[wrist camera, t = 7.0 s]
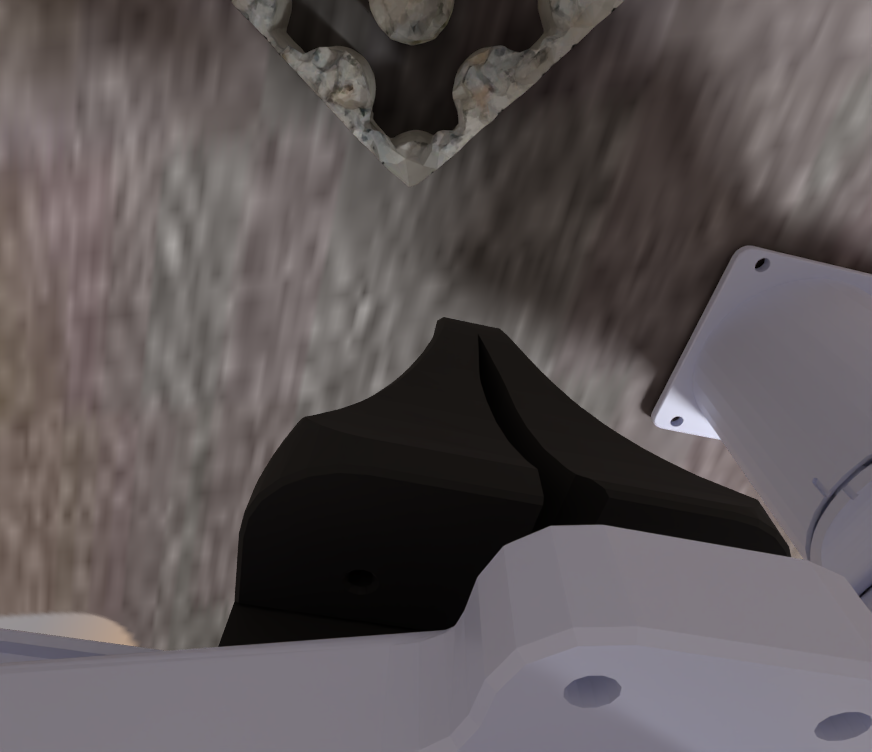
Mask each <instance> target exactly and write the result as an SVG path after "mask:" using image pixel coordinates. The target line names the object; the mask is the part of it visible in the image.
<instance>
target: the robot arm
mask: <svg viewBox="0 0 872 752" xmlns="http://www.w3.org/2000/svg"><path fill="white" fill-rule="evenodd" d="M762 258H765V261H764V264H763V265H762V266H761V267H759V268H755V264H756V263H757V261H758V260H760V259H762ZM677 416H680V417H679V418H678V419H677V420H675V421H671V420H672V419H673V418H674V417H677ZM651 419H652V421H653V423H654V424H655V425H656V427H659V428H662V429H667V430H673V431H678V432H683V433H688V434H693V435H698V436H703V437H708V438H714V439H719V440H721V441H722V442H723V444H724V445H725V446H726V448H727V449H728V451H729V452H730V454H731V455H732V457H733V458H734V459H735V461H736V462H737V464H738V465H739V467H740V468H741V470H742V471H743V472H744V474H745V475H746V477H747V478H748V480H749V481H750V482H751V484H752V485H753V487H754V488H755V490H756V491H757V493H758V494H759V495H760V497H761V498H762V500H763V501H764V503H765V504H766V506H767V507H768V508H769V510H770V511H771V513H772V514H773V516H774V517H775V519H776V520H777V521H778V523H779V524H780V526H781V527H782V529H783V530H784V531H785V533H786V534H787V536H788V537H789V539H790V540H791V542H792V543H793V544H794V546H795V547H796V549H797V550H798V552H799V553H800V555H801V556H802V557H803V559H804V560H803V559H797V558H792V557H791V554H790V549H789V546H788V545H787V543H786V542H785V540H784V539H783V537H782V536H781V534H780V533H779V531H778V530H777V528H776V527H775V525H774V524H773V522H772V521H771V519H770V518H769V516H768V514H767V513H766V511H765V510H764V508H763V507H762V505H761V504H760V502H759V501H758V500H756V499H754V498H751V497H749V496H746V495H744V494H741V493H739V492H736V491H734V490H732V489H729V488H727V487H724V486H722V485H719V484H717V483H714V482H712V481H709V480H707V479H704V478H702V477H699V476H697V475H695V474H693V473H691V472H689V471H686V470H684V469H682V468H680V467H678V466H676V465H674V464H672V463H670V462H668V461H666V460H664V459H662V458H660V457H658V456H656V455H654V454H653V453H651V452H649V451H647V450H645V449H643V448H642V447H640V446H638V445H637V444H635V443H633V442H632V441H630V440H628V439H627V438H625V437H623V436H622V435H620V434H618V433H617V432H615V431H614V430H612V429H611V428H609V427H608V426H606V425H605V424H603V423H602V422H600V421H599V420H598V419H596V418H595V417H594V416H592V415H591V414H590V413H588V412H587V411H586V410H584V409H583V408H581V407H580V406H579V405H578V404H576V403H575V402H574V401H573V400H572V399H570V398H569V397H568V396H567V395H566V394H565V393H564V392H563V391H561V390H560V389H559V388H558V387H557V386H556V385H555V384H554V383H553V382H551V381H550V380H549V379H548V378H547V377H546V376H545V375H544V374H543V373H542V372H541V371H540V370H539V369H538V368H537V367H536V366H535V365H534V364H533V362H532V361H531V360H530V359H529V358H528V357H527V356H526V355H525V354H524V353H523V352H522V351H521V350H520V349H519V348H518V346H517V345H516V344H515V343H514V342H513V341H512V340H511V339H510V338H509V337H508V336H507V335H506V334H505V333H504V332H503V331H502V330H500V329H498V328H493V327H488V326H484V325H479V324H474V323H469V322H464V321H460V320H455V319H450V318H445V317H443V318H441V319H440V320H438V321H437V324H436V328H435V332H434V336H433V338H432V340H431V341H430V343H429V344H428V346H427V347H426V349H425V350H424V352H423V353H422V354H421V355H420V356H419V357H418V359H417V360H416V361H415V362H414V363H413V364H412V365H411V366H410V367H409V368H408V369H407V370H406V371H405V372H404V373H403V374H402V375H401V376H400V377H399V378H397V379H396V380H395V381H394V382H392V383H391V384H390V385H388V386H387V387H385V388H384V389H382V390H381V391H379V392H378V393H376V394H375V395H373V396H371V397H369V398H368V399H365V400H363V401H361V402H358V403H356V404H353V405H350V406H348V407H345V408H342V409H338V410H334V411H330V412H325V413H321V414H317V415H313V416H307V417H304V418H302V419H301V420H300V421H299V422H298V423H297V425H296V426H295V427H294V428H293V429H292V431H291V432H290V433H289V434H288V436H287V437H286V438H285V440H284V441H283V442H282V444H281V445H280V446H279V448H278V449H277V451H276V452H275V453H274V455H273V456H272V458H271V460H270V461H269V463H268V464H267V466H266V468H265V469H264V471H263V473H262V474H261V476H260V478H259V480H258V482H257V484H256V486H255V488H254V490H253V493H252V495H251V498H250V500H249V503H248V505H247V508H246V510H245V513H244V516H243V520H242V524H241V528H240V531H239V542H238V557H237V572H236V587H235V602H234V605H233V608H232V610H231V613H230V616H229V619H228V622H227V624H226V627H225V630H224V633H223V635H222V638H221V641H220V644H219V646H218V647H211V648H198V649H184V650H171V651H165V650H157V649H150V648H143V647H135V646H128V645H120V644H113V643H106V642H98V641H91V640H83V639H76V638H69V637H61V636H53V635H47V634H38V633H31V632H25V631H17V630H10V629H2V628H0V752H872V274H869V273H865V272H861V271H857V270H852V269H848V268H844V267H840V266H836V265H831V264H827V263H823V262H819V261H815V260H810V259H806V258H802V257H798V256H794V255H789V254H785V253H781V252H777V251H772V250H768V249H764V248H760V247H756V246H744V247H741V248H740V249H738V250H737V251H736V252H735V253H734V254H733V256H732V258H731V260H730V262H729V264H728V266H727V267H726V269H725V271H724V273H723V275H722V277H721V279H720V281H719V283H718V285H717V287H716V289H715V291H714V293H713V295H712V297H711V299H710V301H709V302H708V304H707V306H706V308H705V310H704V312H703V314H702V316H701V318H700V320H699V322H698V324H697V326H696V328H695V330H694V332H693V334H692V336H691V337H690V339H689V341H688V343H687V345H686V347H685V349H684V351H683V353H682V355H681V357H680V359H679V361H678V363H677V365H676V367H675V369H674V371H673V372H672V374H671V376H670V378H669V380H668V382H667V384H666V386H665V388H664V390H663V392H662V394H661V396H660V398H659V400H658V402H657V404H656V406H655V407H654V409H653V411H652V414H651Z"/></svg>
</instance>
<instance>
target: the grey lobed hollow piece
mask: <svg viewBox="0 0 872 752" xmlns="http://www.w3.org/2000/svg"><path fill="white" fill-rule="evenodd" d="M454 1H455V0H369V5H370V10H371V12H372V14H373V16H374V19H375V20H376V22H377V24H378V25H379V27H380V28H381V29H382V30H383V31H384V32H385V33H386V34H387V36H388V37H389V38H390V39H392V40H395V41H398V42H401V43H406V44H409V45H412V46H413V45H417V44H421V43H425V42H428V41H430V40H433V39H435V38H436V37H437V36H438V35H439V33H440V32H441V31H442V30H443V29H444V28H445V26H446V25H447V23H448V21H449V19H450V16H451V14H452V11H453V7H454ZM623 1H624V0H538V12H539V15H540V19H541V22H542V26H543V29H544V32H543V34H542V36H541V37H540V38H539V39H538V41H537V42H536V43H535V44H534V45H533V46H532V47H531V48H530V49H527V50H525V51H522V52H520V53H519V52H516V51H513V50H510V49H507V48H506V47H505V46H502V45H499V46H493V47H485V48H481V49H478V50H477V51H475V52H474V53H473V54H471V55H470V56H469V57H468V58H467V59H466V60H465V61H464V62H463V63H462V64H461V66H460V68H459V69H458V72H457V74H456V77H455V82H454V87H453V92H452V93H453V100H454V103H455V106H456V109H457V112H458V121H459V124H458V125H457V126H456V127H455V128H454V129H453V130H442V131H438V132H437V133H436V134H435V135H432V134H430V133H428V132H425V131H420V130H411V131H407V132H404V133H401V134H399V135H397V136H395V137H394V138H390V137H388V136H387V135H386V134H385V133H384V132H383V130H381V129H380V127H378V125H377V124H376V122H375V121H374V120H373V115H374V113H373V112H372V109H373V105H374V100H375V95H376V84H375V76H374V73H373V71H372V69H371V67H370V65H369V63H368V62H367V60H366V59H365V58H364V57H363V56H362V55H361V54H359V53H358V52H356V51H355V50H353V49H351V48H348V47H344V46H331V47H319V48H316V49H314V50H311V51H309V52H307V53H305V52H304V51H303V50H302V48H301V47H300V46H298V45H297V44H296V43H295V42H294V41H293V40H292V38H291V37H290V36H289V35H288V34H287V26H288V23H289V19H290V15H291V12H292V0H231V2H232V3H233V4H234V6H235V7H236V8H237V9H238V10H239V11H240V12H241V13H242V14H243V15H244V16H245V18H247V19H248V20H249V21H250V22H251V23H252V24H253V25H254V26H255V27H256V28H257V29H258V30H259V31H260V33H261V34H262V35H263V36H264V37H265V38H266V39H267V40H268V41H269V42H270V43H271V45H272V46H273V47H274V48H275V49H276V50H277V51H278V53H279V54H280V55H281V56H282V57H283V58H284V59H285V61H286V62H287V63H288V64H289V65H290V66H291V67H292V68H293V69H294V70H295V71H296V72H297V73H298V74H299V75H300V76H301V78H302V79H303V80H304V81H305V82H306V83H307V84H308V85H309V86H310V87H311V89H312V90H313V91H314V92H315V93H316V94H317V95H318V96H319V97H320V98H321V99H322V100H323V102H324V103H325V104H326V105H327V106H328V107H329V108H330V109H331V110H332V111H333V112H334V113H335V114H336V115H337V117H338V118H339V119H340V120H341V121H342V122H343V123H344V124H345V125H346V126H347V127H348V129H349V130H350V131H351V132H352V133H353V134H354V135H355V136H356V137H357V139H358V140H359V141H360V142H361V143H363V144H364V145H365V146H366V147H367V148H368V149H369V150H370V151H371V152H372V153H373V154H374V155H375V156H376V157H377V158H378V159H379V161H380V162H381V163H382V164H383V165H384V166H385V167H386V168H387V169H388V170H389V171H391V172H392V173H393V174H394V175H395V176H396V177H398V178H399V179H400V180H401V181H402V182H404V183H405V184H406V185H407V186H408V187H411V186H415V185H417V184H419V183H420V182H421V181H423V180H424V179H425V178H426V177H428V176H429V175H430V174H432V173H433V172H434V171H435V170H437V169H438V168H439V167H440V166H441V165H443V164H444V163H445V162H446V161H447V160H449V159H450V158H451V157H452V156H453V155H455V154H456V153H457V152H458V151H459V150H460V149H461V148H462V147H463V146H464V145H465V144H466V143H467V142H468V141H469V140H470V139H471V138H472V137H474V136H475V135H476V134H477V133H478V132H479V131H480V130H481V129H482V128H484V127H485V126H486V125H487V124H489V123H491V122H492V121H493V120H494V119H495V117H496V116H497V115H498V114H499V113H500V112H501V111H503V110H504V109H505V108H506V107H507V106H508V105H510V104H511V103H512V102H513V101H514V100H515V99H517V98H518V97H520V96H521V95H522V94H523V93H525V92H526V91H527V90H528V89H529V88H530V87H531V86H532V85H534V84H535V83H536V82H537V81H538V80H539V79H540V78H541V77H542V76H543V75H544V74H545V73H546V72H547V71H548V70H549V69H550V68H551V67H552V66H553V65H554V64H555V63H556V62H557V61H558V60H559V59H561V58H562V57H563V56H564V55H565V54H566V53H567V52H568V51H570V50H571V49H572V48H573V47H574V46H575V45H576V44H577V43H578V42H579V41H580V40H581V39H582V38H584V37H585V36H586V35H587V34H588V33H589V32H590V31H591V30H592V29H593V28H594V27H595V26H596V25H597V24H598V23H600V22H601V21H602V20H603V19H604V18H606V17H607V16H608V15H609V14H611V13H612V12H613V11H614V10H615V9H616V8H617V7H618V6H619V5H620V4H621V3H622V2H623ZM365 10H366V9H365ZM366 11H367V10H366ZM367 12H368V11H367Z"/></svg>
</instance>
